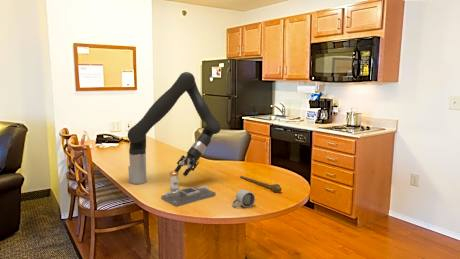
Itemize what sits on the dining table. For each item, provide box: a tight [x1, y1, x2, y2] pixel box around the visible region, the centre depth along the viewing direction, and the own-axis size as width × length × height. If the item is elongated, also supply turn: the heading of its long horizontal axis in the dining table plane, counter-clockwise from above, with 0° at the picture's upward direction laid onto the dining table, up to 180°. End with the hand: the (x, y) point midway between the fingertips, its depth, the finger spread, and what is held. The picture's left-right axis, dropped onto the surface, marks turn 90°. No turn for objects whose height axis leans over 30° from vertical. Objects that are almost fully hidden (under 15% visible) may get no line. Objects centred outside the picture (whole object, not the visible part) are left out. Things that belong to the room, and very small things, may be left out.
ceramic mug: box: [231, 189, 256, 209], centre depth 162 cm, size 10×8×7 cm
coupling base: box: [161, 184, 216, 207], centre depth 173 cm, size 24×14×4 cm, turn 131°
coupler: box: [169, 170, 180, 192], centre depth 183 cm, size 5×5×10 cm
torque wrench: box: [239, 175, 282, 193], centre depth 194 cm, size 5×35×5 cm
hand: (179, 173), depth 185 cm, fingers open, 8 cm apart
